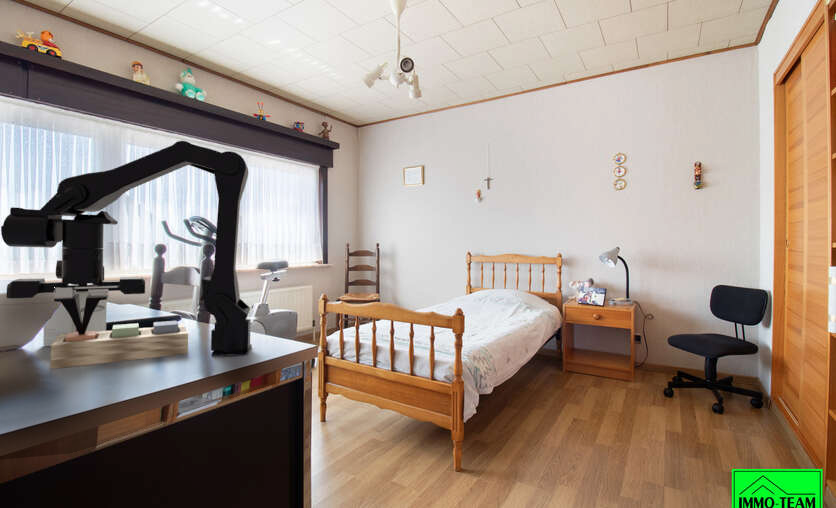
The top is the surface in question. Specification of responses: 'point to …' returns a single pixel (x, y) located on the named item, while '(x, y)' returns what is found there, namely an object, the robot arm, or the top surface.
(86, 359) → the wooden slotted block
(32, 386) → the top surface
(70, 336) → the key terracotta
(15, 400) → the top surface
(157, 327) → the key slate
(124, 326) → the key sage
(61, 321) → the supplement box
